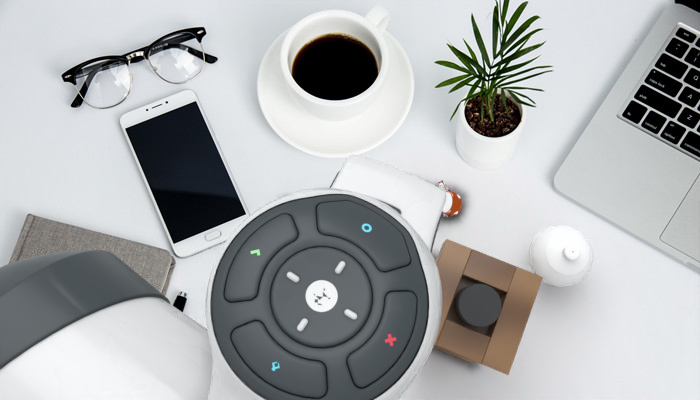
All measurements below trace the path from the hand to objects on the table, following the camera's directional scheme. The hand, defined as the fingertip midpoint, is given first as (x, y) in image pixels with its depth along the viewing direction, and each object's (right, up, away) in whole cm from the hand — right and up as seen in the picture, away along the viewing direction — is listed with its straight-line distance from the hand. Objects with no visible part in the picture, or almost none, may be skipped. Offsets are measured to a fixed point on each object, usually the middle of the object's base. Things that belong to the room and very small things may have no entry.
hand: (349, 311), depth 48 cm
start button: (+12, -2, +12) cm, 18 cm away
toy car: (+12, +8, +38) cm, 40 cm away
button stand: (+13, -6, +35) cm, 38 cm away
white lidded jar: (+27, 0, +36) cm, 45 cm away
